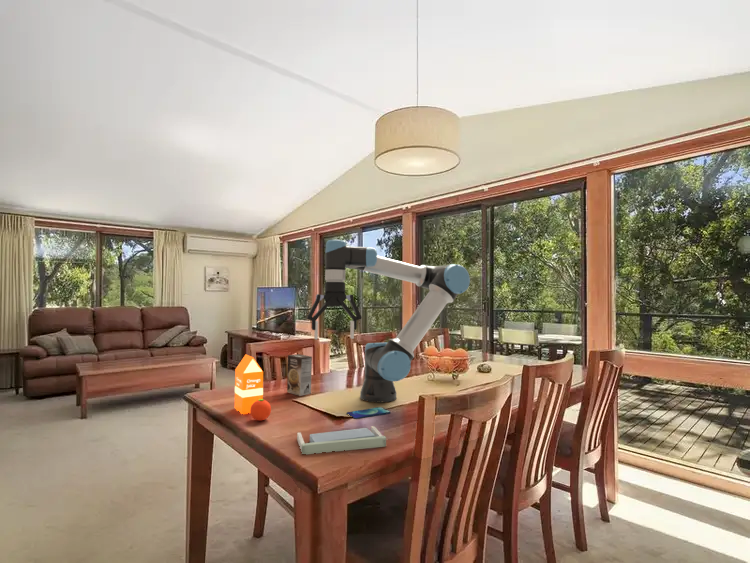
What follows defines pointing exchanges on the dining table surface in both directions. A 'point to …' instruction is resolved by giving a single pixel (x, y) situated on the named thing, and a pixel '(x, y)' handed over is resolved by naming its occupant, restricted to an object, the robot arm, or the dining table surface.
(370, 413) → the smartphone
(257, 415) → the clementine
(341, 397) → the dining table surface
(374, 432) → the docking bay
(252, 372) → the orange juice
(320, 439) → the blue-grey rectangular slab
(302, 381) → the coffee box
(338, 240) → the robot arm
